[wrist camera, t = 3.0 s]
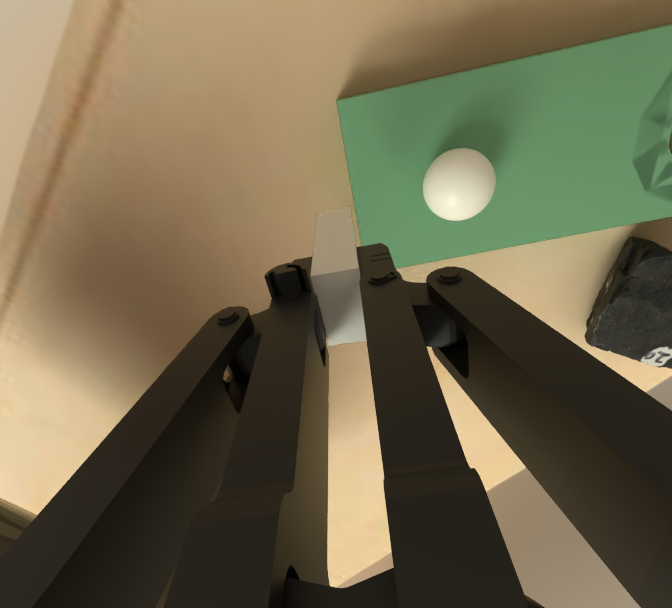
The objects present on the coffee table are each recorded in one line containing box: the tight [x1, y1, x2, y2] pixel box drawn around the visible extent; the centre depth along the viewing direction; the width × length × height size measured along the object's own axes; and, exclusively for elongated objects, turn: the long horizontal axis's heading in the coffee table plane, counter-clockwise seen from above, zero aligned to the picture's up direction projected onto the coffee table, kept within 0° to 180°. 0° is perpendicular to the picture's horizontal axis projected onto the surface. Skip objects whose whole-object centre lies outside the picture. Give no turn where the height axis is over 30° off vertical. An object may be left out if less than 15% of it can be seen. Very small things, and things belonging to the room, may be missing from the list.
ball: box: [423, 148, 496, 221], centre depth 21 cm, size 4×4×4 cm
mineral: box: [585, 236, 672, 369], centre depth 29 cm, size 10×9×6 cm
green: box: [336, 24, 672, 269], centre depth 23 cm, size 28×11×6 cm, turn 101°
